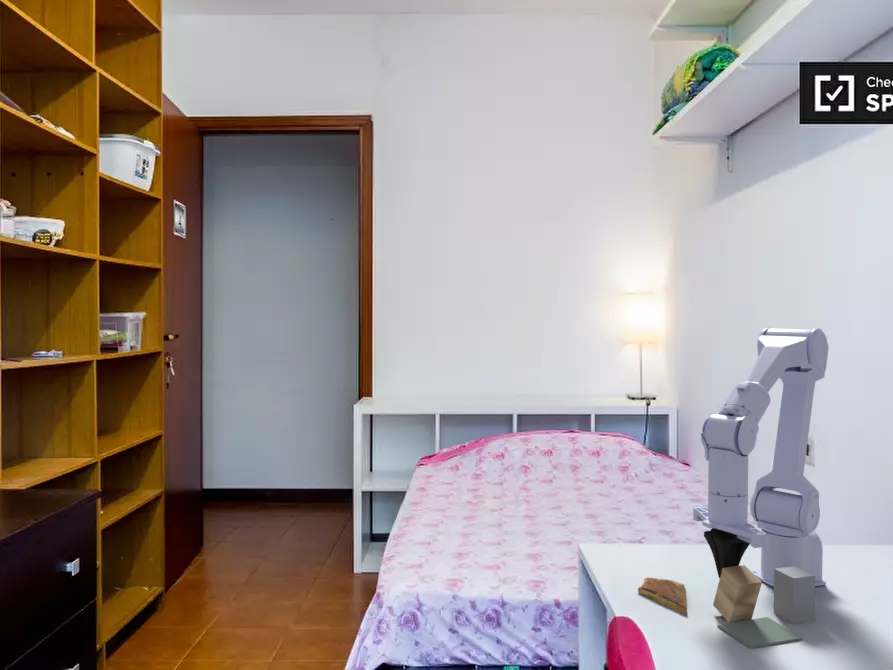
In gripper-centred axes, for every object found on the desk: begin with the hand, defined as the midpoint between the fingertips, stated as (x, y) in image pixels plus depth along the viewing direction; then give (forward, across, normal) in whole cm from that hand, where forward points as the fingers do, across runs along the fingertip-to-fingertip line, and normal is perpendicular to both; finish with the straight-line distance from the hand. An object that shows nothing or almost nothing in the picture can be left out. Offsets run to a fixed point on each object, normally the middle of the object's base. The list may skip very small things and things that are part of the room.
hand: (726, 578), depth 109 cm
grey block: (+6, +4, +9) cm, 11 cm away
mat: (+5, +7, 0) cm, 9 cm away
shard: (+6, -8, -4) cm, 11 cm away
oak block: (+5, +1, 0) cm, 5 cm away
